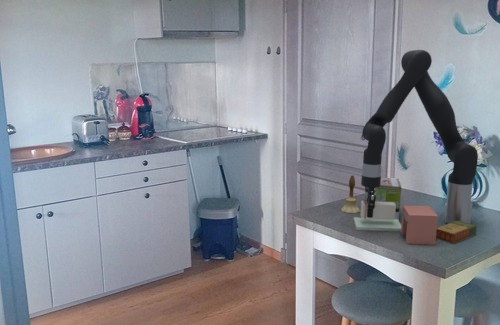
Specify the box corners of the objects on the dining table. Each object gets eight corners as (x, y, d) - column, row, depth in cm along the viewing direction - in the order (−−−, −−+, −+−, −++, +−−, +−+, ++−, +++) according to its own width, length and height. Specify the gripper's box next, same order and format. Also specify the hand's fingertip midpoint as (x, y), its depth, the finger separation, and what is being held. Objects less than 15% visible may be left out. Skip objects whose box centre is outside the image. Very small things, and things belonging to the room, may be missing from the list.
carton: (433, 238, 192) (434, 227, 191) (456, 229, 201) (457, 219, 200) (453, 244, 185) (454, 233, 184) (476, 235, 195) (477, 224, 194)
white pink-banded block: (392, 216, 205) (393, 202, 204) (394, 219, 201) (395, 205, 200) (360, 215, 207) (361, 200, 205) (361, 218, 202) (362, 204, 201)
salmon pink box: (427, 233, 196) (429, 206, 194) (435, 244, 184) (437, 216, 182) (400, 232, 197) (402, 205, 195) (406, 243, 185) (408, 215, 183)
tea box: (399, 220, 211) (401, 186, 208) (374, 218, 213) (376, 184, 210) (396, 209, 226) (398, 177, 222) (373, 208, 228) (375, 176, 224)
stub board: (397, 221, 209) (397, 218, 209) (403, 231, 198) (403, 228, 197) (353, 220, 211) (353, 217, 211) (356, 229, 199) (356, 227, 199)
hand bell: (343, 207, 229) (344, 172, 226) (361, 209, 226) (363, 174, 223) (339, 212, 222) (340, 177, 218) (358, 214, 219) (360, 178, 215)
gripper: (383, 178, 193) (381, 221, 197) (378, 170, 207) (375, 210, 210) (363, 178, 194) (361, 220, 197) (359, 169, 208) (357, 209, 211)
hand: (368, 215), depth 204 cm, fingers closed on white pink-banded block, 4 cm apart
